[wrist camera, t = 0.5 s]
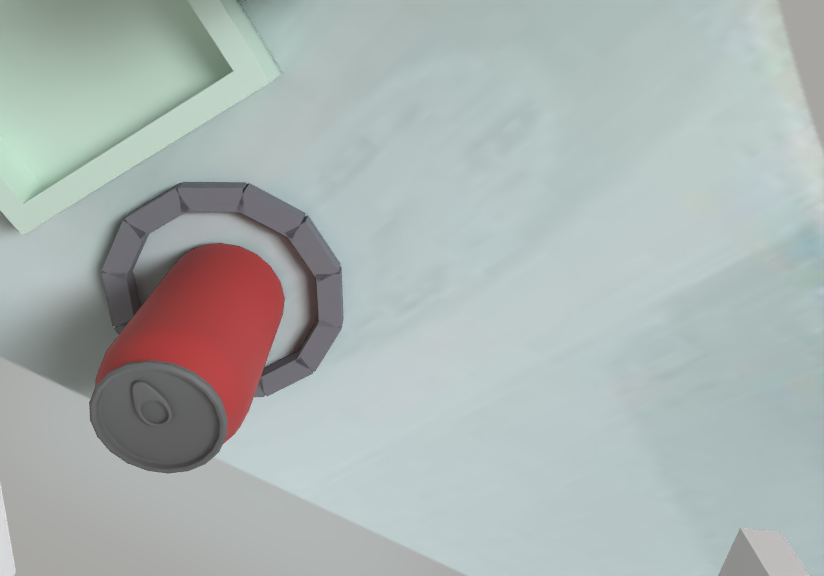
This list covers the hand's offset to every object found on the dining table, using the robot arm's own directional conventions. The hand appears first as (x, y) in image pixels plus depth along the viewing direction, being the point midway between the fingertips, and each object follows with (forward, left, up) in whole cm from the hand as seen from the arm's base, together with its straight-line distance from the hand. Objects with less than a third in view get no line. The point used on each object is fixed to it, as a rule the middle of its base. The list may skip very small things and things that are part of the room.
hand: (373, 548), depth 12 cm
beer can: (+2, -12, -25) cm, 28 cm away
